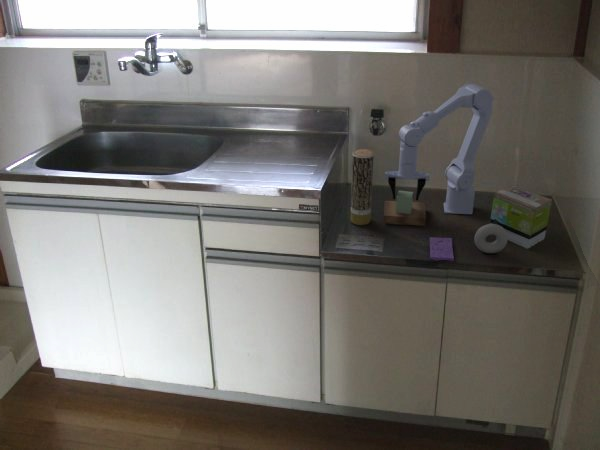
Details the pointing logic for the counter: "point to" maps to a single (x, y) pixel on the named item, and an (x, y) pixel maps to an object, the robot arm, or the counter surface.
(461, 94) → the robot arm
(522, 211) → the tea box
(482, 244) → the donut
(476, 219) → the counter surface
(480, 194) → the counter surface
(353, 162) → the paper tube
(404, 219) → the plinth
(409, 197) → the block
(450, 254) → the sponges
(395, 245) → the counter surface
